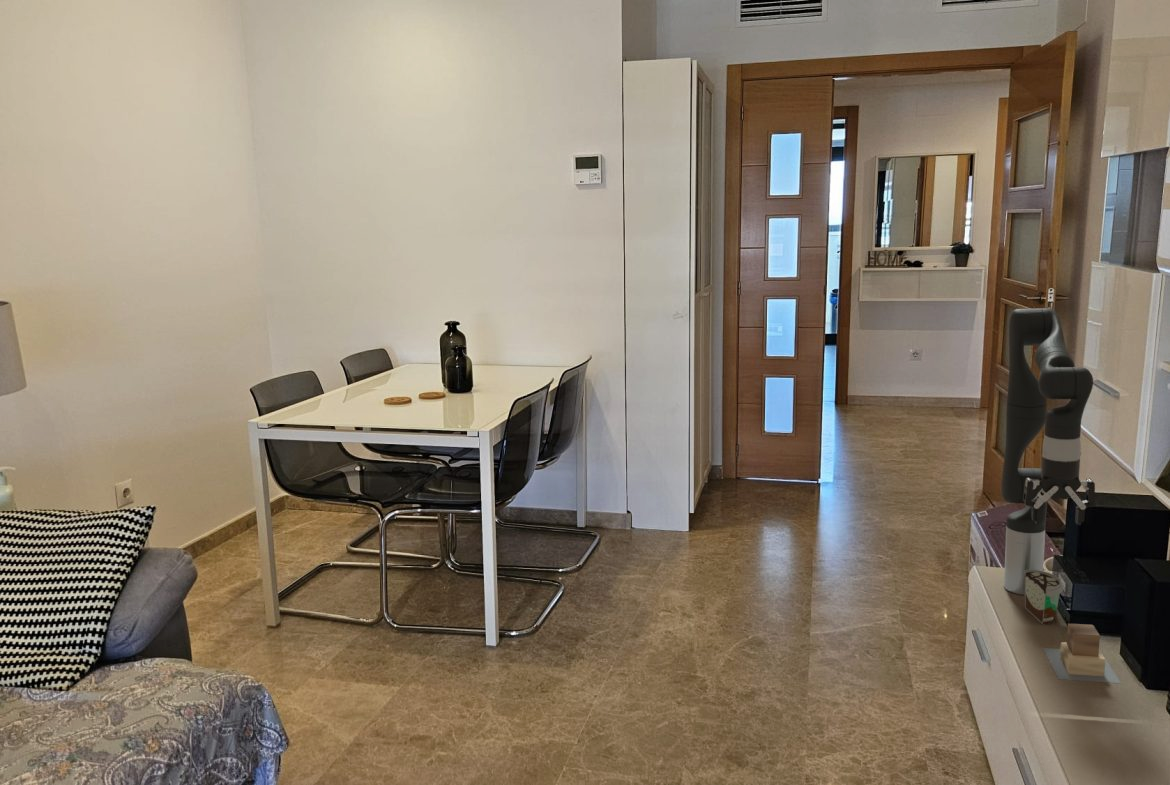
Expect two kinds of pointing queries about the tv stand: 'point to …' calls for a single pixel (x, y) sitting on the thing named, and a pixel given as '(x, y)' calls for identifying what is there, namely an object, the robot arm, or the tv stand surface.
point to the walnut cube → (1083, 640)
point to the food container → (1042, 595)
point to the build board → (1063, 674)
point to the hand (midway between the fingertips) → (1057, 523)
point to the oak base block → (1082, 663)
